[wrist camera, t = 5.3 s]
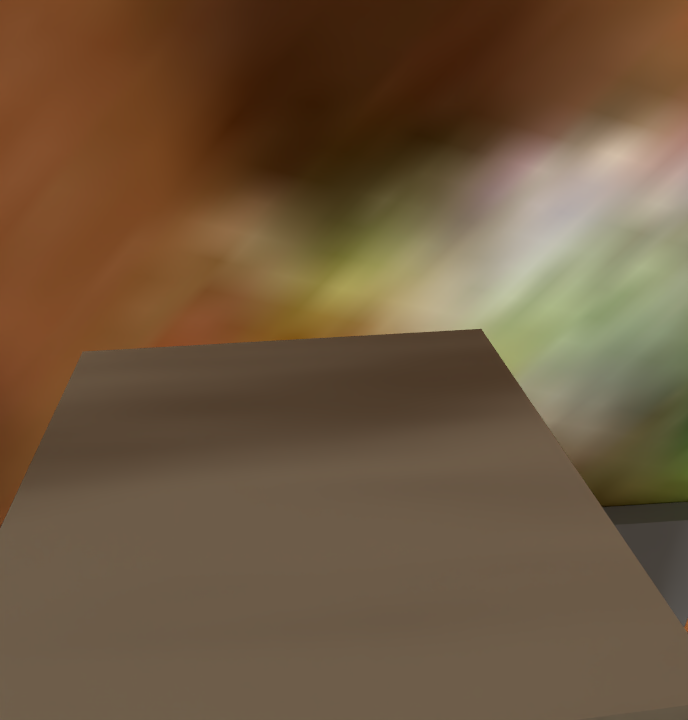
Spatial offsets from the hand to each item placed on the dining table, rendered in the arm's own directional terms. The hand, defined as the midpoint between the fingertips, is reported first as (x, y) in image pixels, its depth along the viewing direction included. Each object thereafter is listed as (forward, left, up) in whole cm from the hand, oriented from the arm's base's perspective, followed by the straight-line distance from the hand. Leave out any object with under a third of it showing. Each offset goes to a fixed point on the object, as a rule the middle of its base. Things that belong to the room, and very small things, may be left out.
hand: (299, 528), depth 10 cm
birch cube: (0, 0, -1) cm, 1 cm away
